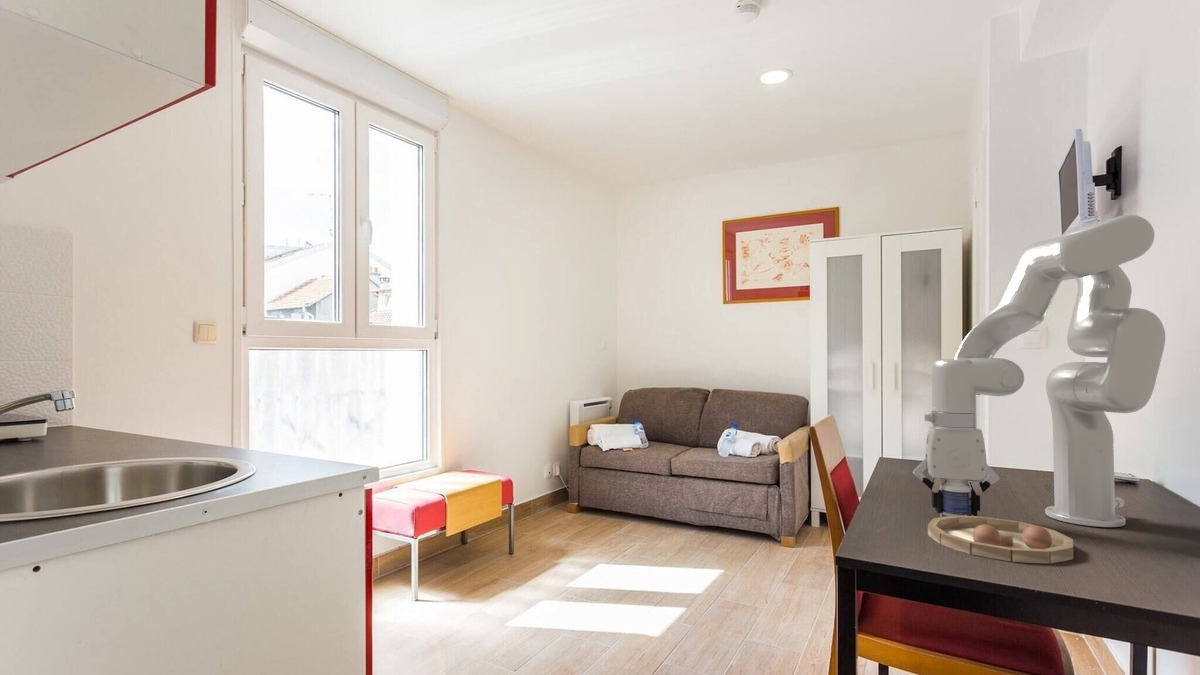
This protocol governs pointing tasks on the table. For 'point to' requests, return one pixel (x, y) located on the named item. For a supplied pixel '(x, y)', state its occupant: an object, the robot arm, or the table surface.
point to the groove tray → (1012, 546)
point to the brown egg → (986, 535)
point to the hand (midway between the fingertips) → (955, 512)
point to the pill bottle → (955, 498)
